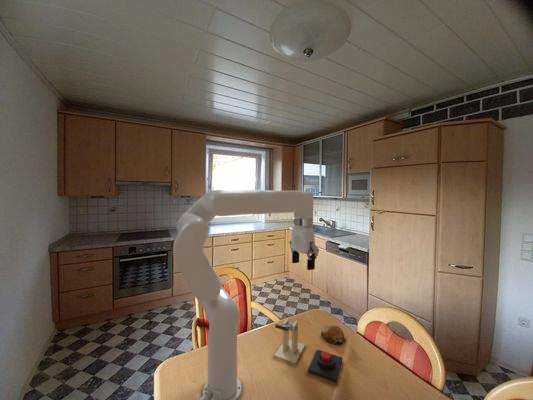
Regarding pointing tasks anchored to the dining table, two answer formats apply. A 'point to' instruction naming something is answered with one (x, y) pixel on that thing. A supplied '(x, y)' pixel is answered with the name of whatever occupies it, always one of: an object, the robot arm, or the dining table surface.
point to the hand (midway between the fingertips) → (302, 265)
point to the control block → (326, 367)
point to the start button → (325, 357)
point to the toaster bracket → (290, 344)
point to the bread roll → (332, 334)
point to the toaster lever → (285, 327)
